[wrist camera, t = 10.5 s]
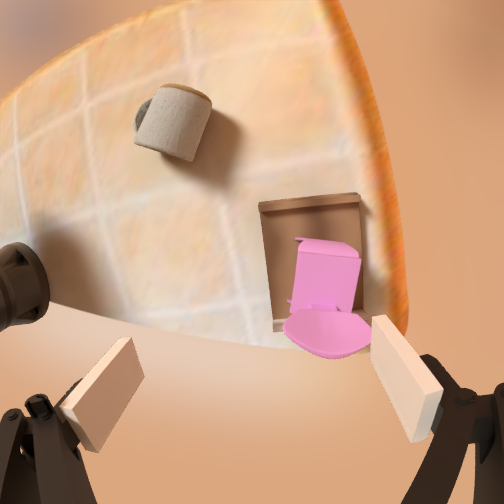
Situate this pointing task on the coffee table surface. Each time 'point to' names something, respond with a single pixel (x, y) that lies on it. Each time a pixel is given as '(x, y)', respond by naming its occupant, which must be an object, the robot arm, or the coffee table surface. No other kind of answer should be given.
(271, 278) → the shelf board
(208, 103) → the ceramic mug
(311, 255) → the toy chair
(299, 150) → the coffee table surface
